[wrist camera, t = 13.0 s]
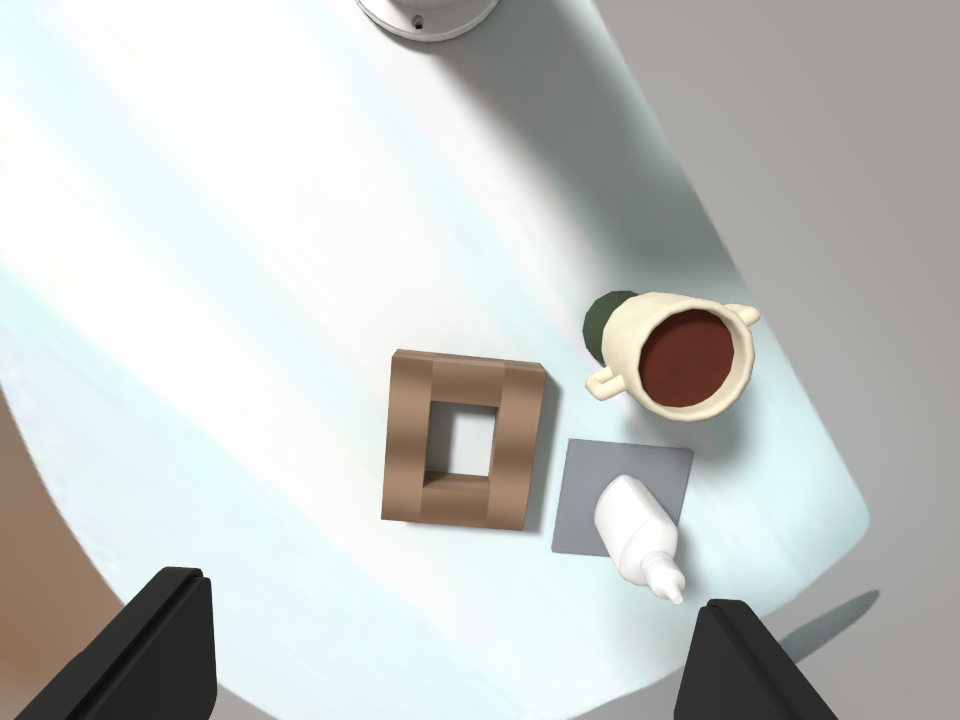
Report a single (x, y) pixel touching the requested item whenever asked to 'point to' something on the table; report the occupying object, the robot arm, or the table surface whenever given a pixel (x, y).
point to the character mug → (670, 352)
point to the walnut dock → (512, 447)
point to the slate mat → (596, 469)
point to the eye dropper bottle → (640, 537)
